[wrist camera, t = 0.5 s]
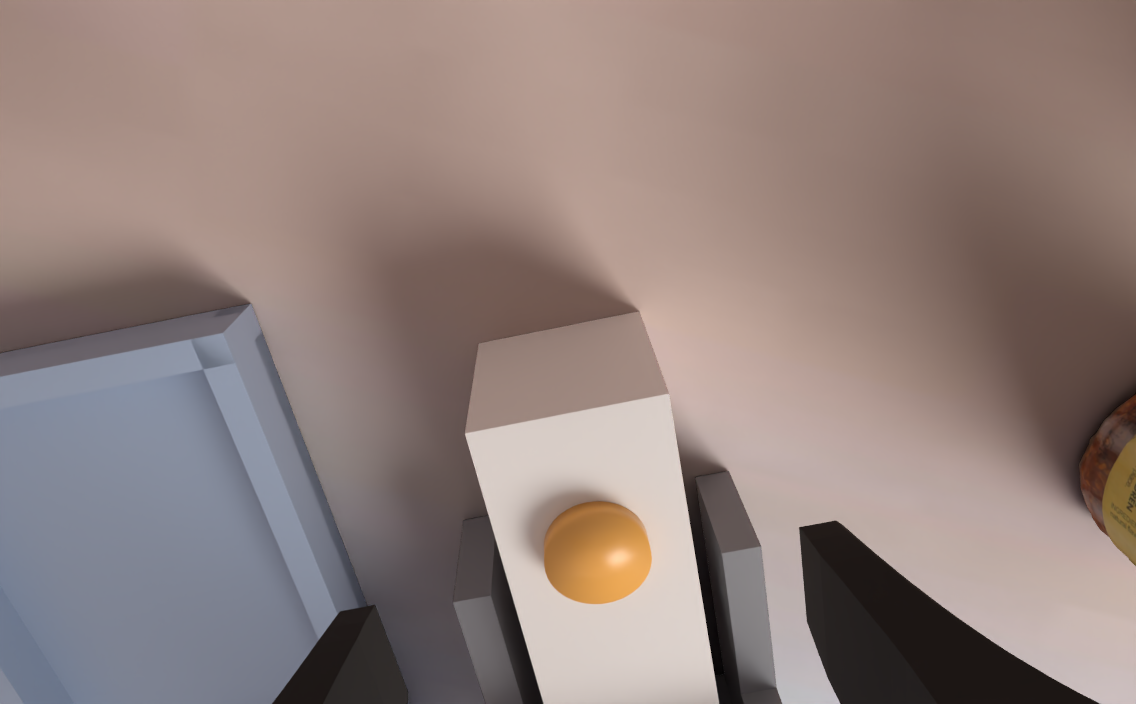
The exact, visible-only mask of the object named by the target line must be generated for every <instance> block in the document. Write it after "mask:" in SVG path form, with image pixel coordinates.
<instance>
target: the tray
mask: <svg viewBox="0 0 1136 704" xmlns="http://www.w3.org/2000/svg"><path fill="white" fill-rule="evenodd" d="M366 606H367V604H366V601H365V599H364V596H363V593H362V591H361V588H360V586H359V583H358V580H357V578H356V575H355V573H354V570H353V567H352V565H351V562H350V560H349V557H348V554H347V552H346V549H345V547H344V544H343V541H342V539H341V536H340V534H339V531H338V528H337V526H336V523H335V521H334V518H333V515H332V513H331V510H330V508H329V505H328V502H327V500H326V497H325V495H324V492H323V489H322V487H321V484H320V481H319V479H318V476H317V474H316V471H315V468H314V466H313V463H312V461H311V458H310V455H309V453H308V450H307V448H306V445H305V442H304V440H303V437H302V435H301V432H300V429H299V427H298V424H297V422H296V419H295V416H294V414H293V411H292V409H291V406H290V403H289V401H288V398H287V396H286V393H285V390H284V388H283V385H282V383H281V380H280V377H279V375H278V372H277V370H276V367H275V364H274V362H273V359H272V357H271V354H270V351H269V349H268V346H267V344H266V341H265V338H264V336H263V333H262V331H261V328H260V325H259V323H258V320H257V318H256V315H255V312H254V310H253V307H252V305H251V304H246V305H241V306H236V307H230V308H225V309H220V310H215V311H210V312H205V313H200V314H195V315H190V316H185V317H180V318H175V319H170V320H165V321H160V322H155V323H150V324H145V325H140V326H135V327H130V328H125V329H119V330H114V331H109V332H104V333H99V334H94V335H89V336H84V337H79V338H74V339H69V340H64V341H59V342H54V343H49V344H44V345H39V346H34V347H29V348H24V349H19V350H14V351H9V352H3V353H0V704H272V703H273V702H274V700H275V699H276V698H277V696H278V695H279V694H280V692H281V691H282V690H283V688H284V687H285V686H286V684H287V683H288V682H289V680H290V679H291V678H292V676H293V675H294V673H295V672H296V671H297V669H298V668H299V667H300V665H301V664H302V662H303V661H304V660H305V658H306V657H307V656H308V654H309V653H310V651H311V650H312V649H313V647H314V646H315V644H316V643H317V642H318V640H319V639H320V638H321V636H322V635H323V634H324V632H325V631H326V629H327V628H328V627H329V625H330V624H331V623H332V621H333V620H334V619H335V617H336V616H337V615H338V613H339V612H340V611H344V610H349V609H355V608H360V607H366Z"/></svg>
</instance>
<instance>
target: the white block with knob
mask: <svg viewBox="0 0 1136 704" xmlns="http://www.w3.org/2000/svg"><path fill="white" fill-rule="evenodd" d="M465 436H466V439H467V443H468V446H469V450H470V453H471V456H472V460H473V463H474V467H475V470H476V474H477V477H478V480H479V484H480V487H481V491H482V494H483V498H484V501H485V505H486V508H487V511H488V515H489V518H490V522H491V525H492V529H493V532H494V535H495V539H496V542H497V546H498V549H499V553H500V556H501V559H502V563H503V566H504V570H505V573H506V577H507V580H508V583H509V587H510V590H511V594H512V597H513V601H514V604H515V607H516V611H517V614H518V618H519V621H520V625H521V628H522V631H523V635H524V638H525V642H526V645H527V649H528V652H529V655H530V659H531V662H532V666H533V669H534V673H535V676H536V679H537V683H538V686H539V690H540V693H541V697H542V700H543V703H544V704H719V700H718V693H717V687H716V681H715V675H714V669H713V663H712V656H711V650H710V644H709V638H708V632H707V625H706V619H705V613H704V607H703V601H702V594H701V588H700V582H699V576H698V570H697V564H696V557H695V551H694V545H693V539H692V533H691V526H690V520H689V514H688V508H687V502H686V495H685V489H684V483H683V477H682V471H681V464H680V458H679V452H678V446H677V440H676V434H675V427H674V421H673V415H672V409H671V403H670V396H669V392H668V389H667V387H666V384H665V381H664V378H663V375H662V373H661V370H660V367H659V364H658V361H657V359H656V356H655V353H654V350H653V348H652V345H651V342H650V339H649V336H648V334H647V331H646V328H645V325H644V323H643V320H642V317H641V314H640V311H638V312H633V313H628V314H623V315H618V316H613V317H608V318H603V319H598V320H593V321H588V322H583V323H578V324H573V325H568V326H563V327H558V328H553V329H548V330H543V331H538V332H533V333H528V334H523V335H518V336H513V337H508V338H503V339H498V340H493V341H488V342H483V343H479V345H478V351H477V358H476V364H475V371H474V377H473V384H472V390H471V397H470V403H469V410H468V416H467V423H466V429H465Z"/></svg>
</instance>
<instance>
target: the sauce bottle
mask: <svg viewBox="0 0 1136 704" xmlns="http://www.w3.org/2000/svg"><path fill="white" fill-rule="evenodd" d="M1079 471H1080V489H1081V491H1082V493H1083V496H1084V500H1085V503H1086V506H1087V508H1088V509H1089V511H1090V513H1091V515H1092V518H1093V519H1094V521H1095V523H1096V524H1097V526H1098V527H1099V529H1100V530H1101V531H1102V532H1104V533H1105V534H1106V535H1107V536H1109V537H1110V539H1111V541H1112V542H1113V543H1114V545H1115V546H1116V547H1117V548H1118V549H1119V550H1120V551H1121V552H1122V553H1124V554H1125V555H1126V556H1127V557H1128V558H1129V560H1130V561H1131V562H1132V563H1133V564H1134V565H1135V566H1136V394H1135V395H1134V396H1132V397H1131V398H1130V399H1129V400H1127V401H1126V402H1124V403H1123V404H1122V405H1120V406H1119V407H1117V408H1116V409H1115V410H1114V411H1113V413H1112V414H1111V415H1110V416H1108V417H1107V418H1106V419H1105V420H1104V421H1103V423H1102V425H1101V426H1100V428H1099V429H1098V431H1097V433H1096V434H1095V435H1093V436H1092V438H1091V439H1090V440H1089V444H1088V446H1087V448H1086V451H1085V453H1084V455H1083V456H1082V459H1081V461H1080V463H1079Z"/></svg>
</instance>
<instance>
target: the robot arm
mask: <svg viewBox="0 0 1136 704" xmlns="http://www.w3.org/2000/svg"><path fill="white" fill-rule="evenodd" d="M799 530H800V543H801V555H802V567H803V579H804V591H805V603H806V616H807V623H808V625H809V628H810V631H811V634H812V636H813V639H814V642H815V645H816V648H817V650H818V653H819V656H820V658H821V661H822V664H823V666H824V669H825V671H826V674H827V677H828V679H829V681H830V683H831V685H832V687H833V689H834V691H835V693H836V695H837V697H838V699H839V701H840V703H841V704H1099V703H1097V702H1095V701H1094V700H1092V699H1090V698H1088V697H1086V696H1084V695H1082V694H1080V693H1078V692H1076V691H1074V690H1072V689H1071V688H1069V687H1067V686H1065V685H1063V684H1061V683H1060V682H1058V681H1056V680H1054V679H1052V678H1051V677H1049V676H1047V675H1046V674H1044V673H1042V672H1041V671H1039V670H1037V669H1035V668H1034V667H1032V666H1030V665H1029V664H1027V663H1025V662H1024V661H1022V660H1020V659H1019V658H1017V657H1015V656H1014V655H1012V654H1011V653H1009V652H1007V651H1006V650H1004V649H1003V648H1001V647H1000V646H998V645H997V644H995V643H994V642H992V641H991V640H989V639H987V638H986V637H985V636H983V635H982V634H980V633H979V632H977V631H976V630H974V629H973V628H972V627H970V626H969V625H967V624H966V623H964V622H963V621H961V620H960V619H959V618H957V617H956V616H954V615H953V614H952V613H950V612H949V611H948V610H946V609H945V608H943V607H942V606H941V605H939V604H938V603H937V602H936V601H934V600H933V599H932V598H930V597H929V596H928V595H926V594H925V593H924V592H923V591H921V590H920V589H919V588H917V587H916V586H915V585H913V584H912V583H911V582H910V581H908V580H907V579H906V578H905V577H903V576H902V575H901V574H900V573H898V572H897V571H896V570H895V569H893V568H892V567H891V566H890V565H889V564H887V563H886V562H885V561H884V560H883V559H881V558H880V557H879V556H878V555H877V554H875V553H874V552H873V551H872V550H871V549H870V548H868V547H867V546H866V545H865V544H864V543H863V542H861V541H860V540H859V539H858V538H857V537H856V536H855V535H853V534H852V533H851V532H850V531H849V530H848V529H847V528H845V527H844V526H843V525H842V524H840V523H839V522H837V521H831V522H826V523H820V524H815V525H809V526H804V527H799ZM407 703H408V691H407V688H406V685H405V683H404V680H403V677H402V675H401V672H400V670H399V667H398V664H397V662H396V659H395V656H394V654H393V651H392V648H391V646H390V643H389V641H388V638H387V635H386V633H385V630H384V627H383V625H382V622H381V619H380V617H379V614H378V612H377V609H376V606H375V605H371V606H366V607H360V608H355V609H349V610H344V611H340V612H339V613H338V615H337V616H336V617H335V619H334V620H333V621H332V623H331V624H330V625H329V627H328V628H327V629H326V631H325V632H324V634H323V635H322V636H321V638H320V639H319V640H318V642H317V643H316V644H315V646H314V647H313V649H312V650H311V651H310V653H309V654H308V656H307V657H306V658H305V660H304V661H303V662H302V664H301V665H300V667H299V668H298V669H297V671H296V672H295V673H294V675H293V676H292V678H291V679H290V680H289V682H288V683H287V684H286V686H285V687H284V688H283V690H282V691H281V692H280V694H279V695H278V696H277V698H276V699H275V700H274V702H273V703H272V704H407Z"/></svg>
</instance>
